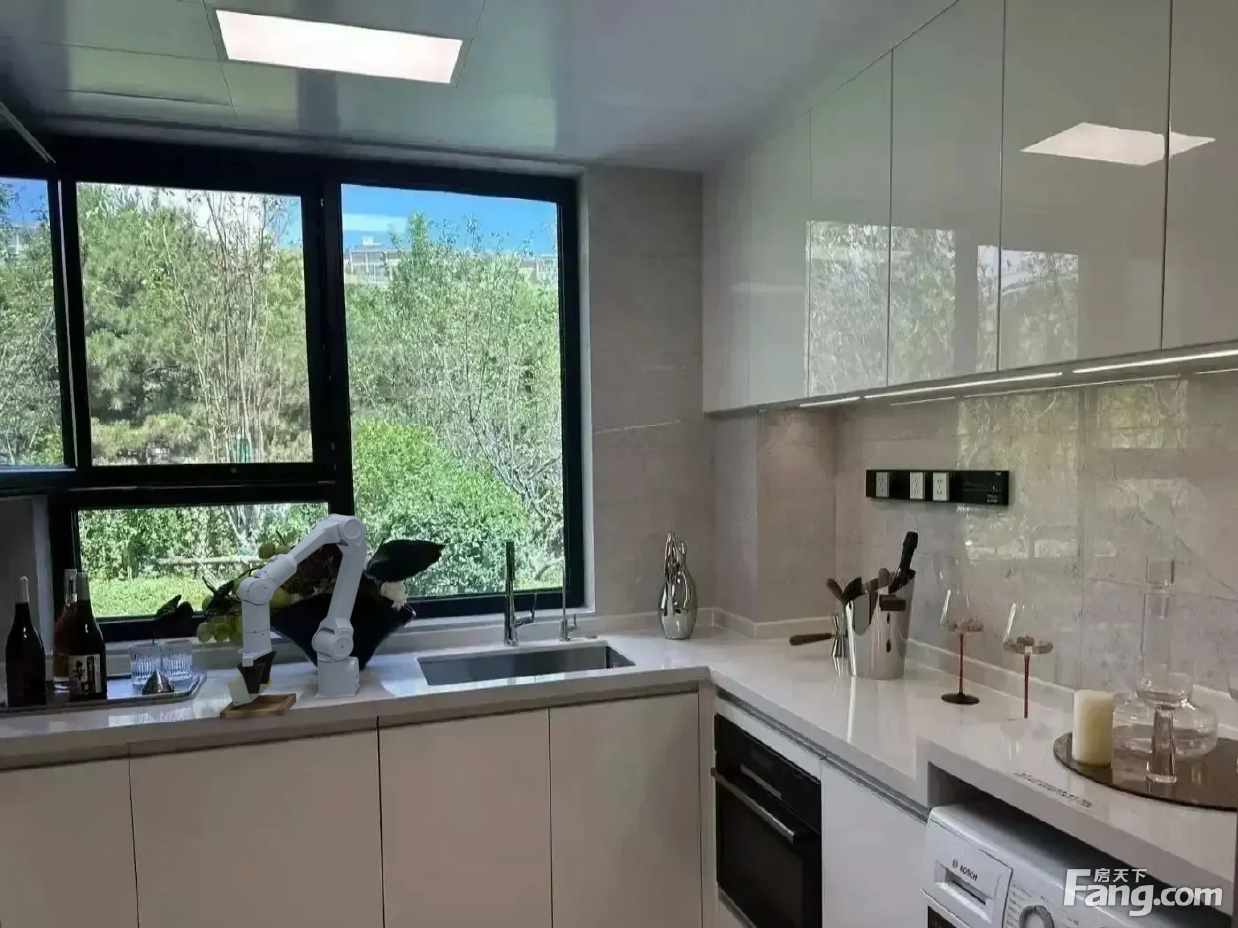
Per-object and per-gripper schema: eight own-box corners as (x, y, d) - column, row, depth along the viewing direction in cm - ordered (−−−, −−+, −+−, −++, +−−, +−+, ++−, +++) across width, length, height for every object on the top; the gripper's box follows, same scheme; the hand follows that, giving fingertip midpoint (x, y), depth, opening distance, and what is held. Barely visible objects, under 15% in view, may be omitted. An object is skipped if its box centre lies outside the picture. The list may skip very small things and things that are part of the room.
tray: (296, 703, 195) (296, 693, 195) (283, 720, 183) (282, 709, 183) (237, 706, 193) (237, 696, 193) (220, 724, 182) (219, 713, 182)
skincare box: (273, 683, 198) (251, 703, 186) (256, 687, 198) (233, 707, 187) (266, 659, 198) (243, 678, 186) (249, 663, 198) (225, 682, 186)
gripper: (248, 622, 194) (250, 679, 195) (227, 638, 180) (229, 699, 180) (279, 621, 195) (281, 677, 195) (260, 637, 180) (262, 698, 181)
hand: (258, 688), depth 188 cm, fingers open, 6 cm apart
